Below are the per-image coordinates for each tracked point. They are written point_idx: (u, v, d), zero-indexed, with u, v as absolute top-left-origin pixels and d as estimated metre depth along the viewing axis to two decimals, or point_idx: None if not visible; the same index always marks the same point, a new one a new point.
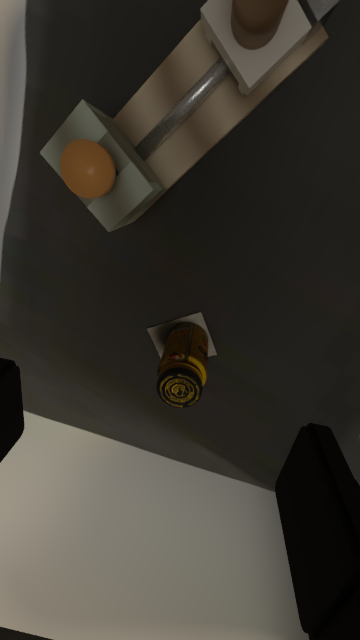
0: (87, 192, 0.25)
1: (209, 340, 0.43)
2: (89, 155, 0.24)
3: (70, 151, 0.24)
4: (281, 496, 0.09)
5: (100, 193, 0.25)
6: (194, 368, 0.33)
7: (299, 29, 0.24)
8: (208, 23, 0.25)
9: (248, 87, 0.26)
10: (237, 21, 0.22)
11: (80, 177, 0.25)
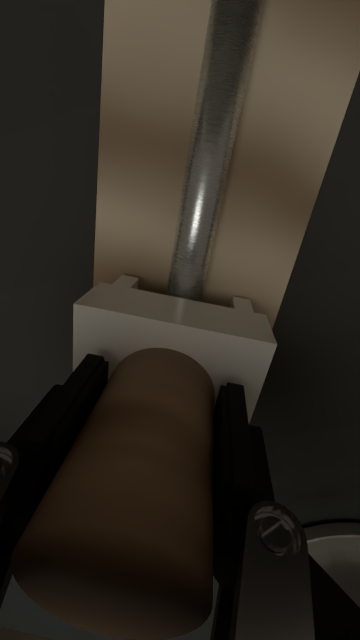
0: None
1: None
2: None
3: None
4: None
5: None
6: None
7: None
8: (244, 335, 0.10)
9: (79, 302, 0.10)
10: (153, 406, 0.08)
11: None
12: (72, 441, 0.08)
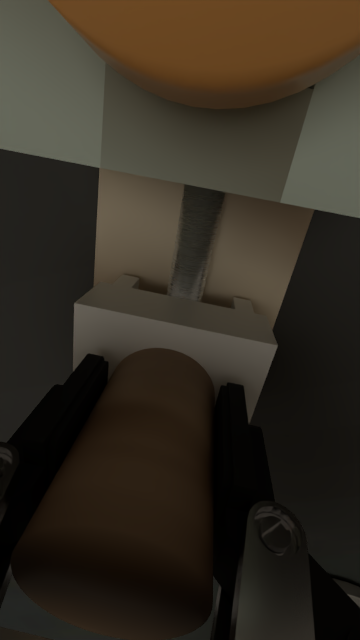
0: None
1: None
2: None
3: None
4: None
5: None
6: None
7: None
8: (244, 335, 0.10)
9: (80, 301, 0.10)
10: (153, 406, 0.08)
11: None
12: (72, 441, 0.08)
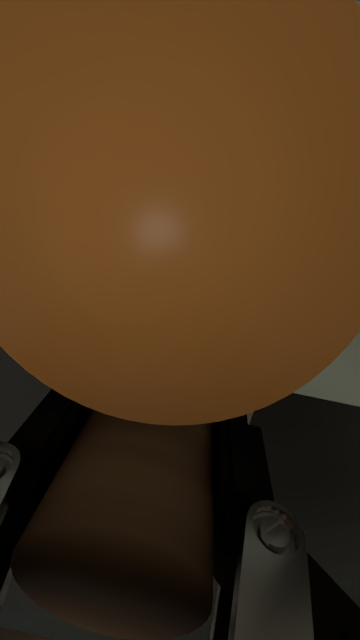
0: (9, 69, 0.02)
1: None
2: (183, 349, 0.03)
3: (332, 283, 0.03)
4: None
5: None
6: None
7: None
8: None
9: None
10: None
11: (145, 155, 0.02)
12: (73, 441, 0.08)
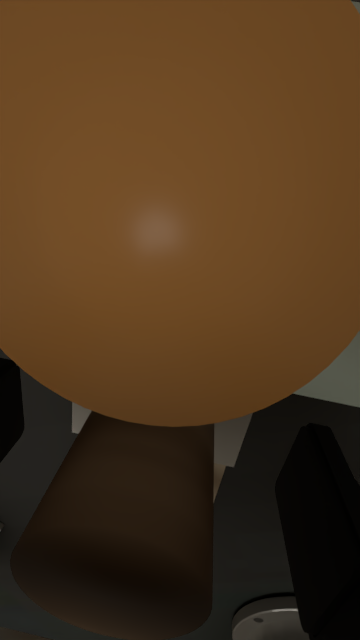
0: (7, 72, 0.02)
1: None
2: (182, 351, 0.03)
3: (330, 285, 0.03)
4: (281, 496, 0.09)
5: None
6: None
7: (84, 420, 0.12)
8: None
9: None
10: None
11: (144, 158, 0.02)
12: None
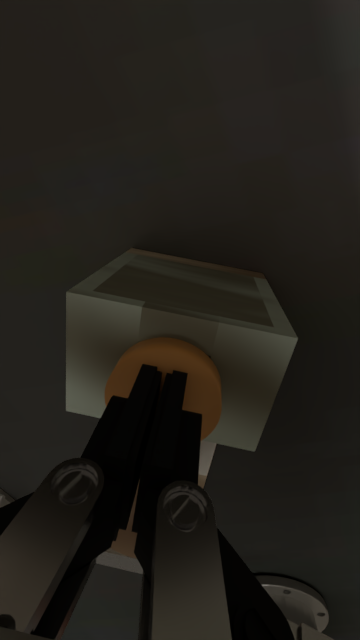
0: (131, 371, 0.10)
1: None
2: None
3: (207, 414, 0.11)
4: None
5: (108, 385, 0.11)
6: None
7: None
8: None
9: None
10: None
11: (161, 387, 0.11)
12: (140, 455, 0.08)
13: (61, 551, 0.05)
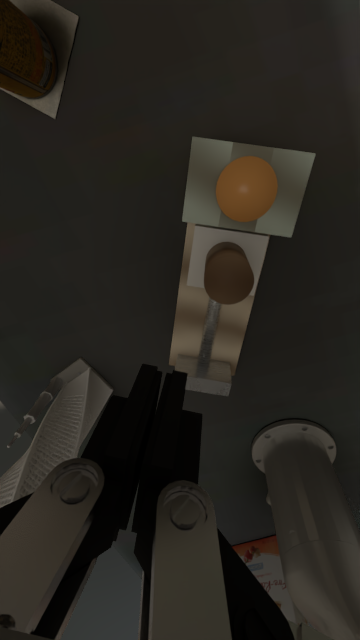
0: (232, 170, 0.21)
1: (12, 91, 0.29)
2: (250, 206, 0.22)
3: (270, 194, 0.21)
4: None
5: (218, 181, 0.21)
6: None
7: (192, 278, 0.30)
8: (257, 234, 0.28)
9: (196, 225, 0.28)
10: (231, 248, 0.25)
11: (246, 178, 0.21)
12: (140, 455, 0.08)
13: (61, 551, 0.05)
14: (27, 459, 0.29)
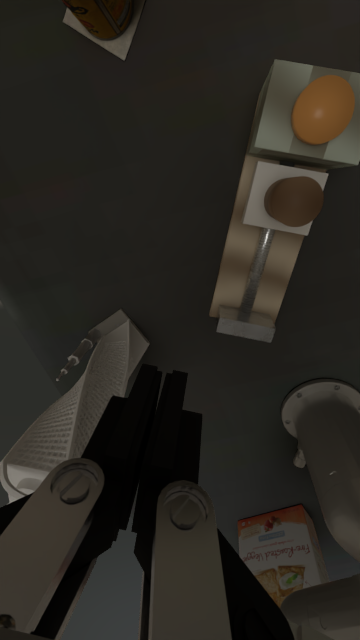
0: (313, 89, 0.22)
1: (86, 32, 0.31)
2: (325, 127, 0.23)
3: (346, 114, 0.23)
4: None
5: (299, 100, 0.23)
6: None
7: (249, 216, 0.31)
8: None
9: None
10: None
11: (326, 98, 0.23)
12: (140, 454, 0.08)
13: (61, 551, 0.05)
14: (84, 381, 0.30)
